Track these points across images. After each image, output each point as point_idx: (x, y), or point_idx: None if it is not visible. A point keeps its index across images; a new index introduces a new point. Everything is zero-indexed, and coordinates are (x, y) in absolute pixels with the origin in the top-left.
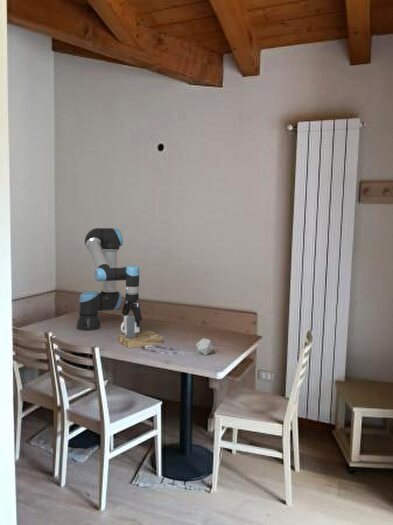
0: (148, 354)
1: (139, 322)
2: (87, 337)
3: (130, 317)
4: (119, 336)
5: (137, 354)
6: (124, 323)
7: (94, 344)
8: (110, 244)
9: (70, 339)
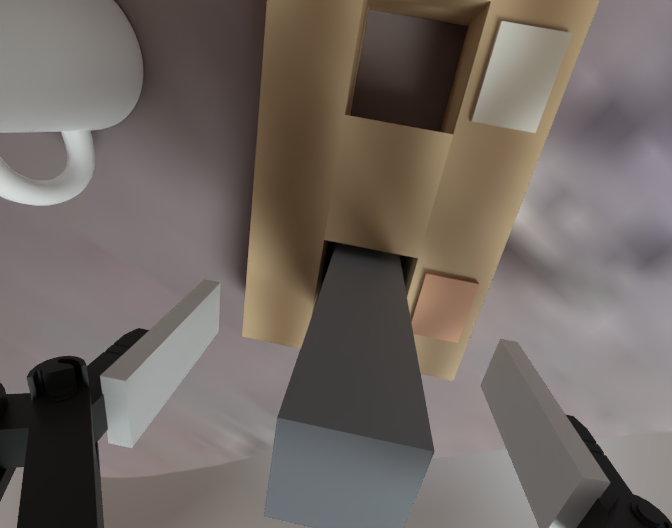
0: (668, 335)
1: (624, 486)
2: None
3: (353, 513)
4: (270, 341)
5: (592, 384)
6: (198, 355)
7: (224, 427)
8: None
9: None
